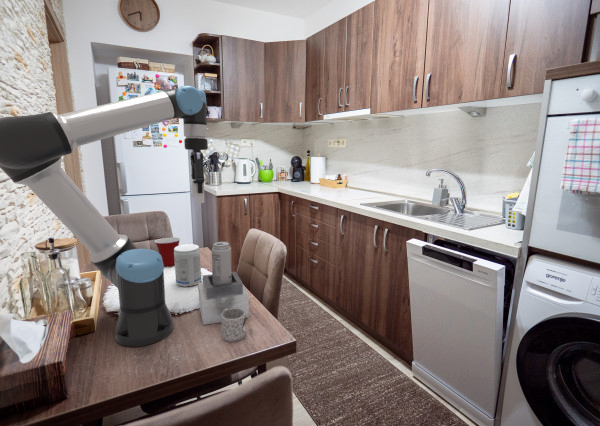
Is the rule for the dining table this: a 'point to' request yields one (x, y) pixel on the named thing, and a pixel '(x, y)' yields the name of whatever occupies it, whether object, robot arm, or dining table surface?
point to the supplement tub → (187, 265)
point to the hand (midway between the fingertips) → (198, 200)
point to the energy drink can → (221, 263)
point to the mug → (233, 324)
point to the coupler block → (221, 298)
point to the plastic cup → (167, 249)
